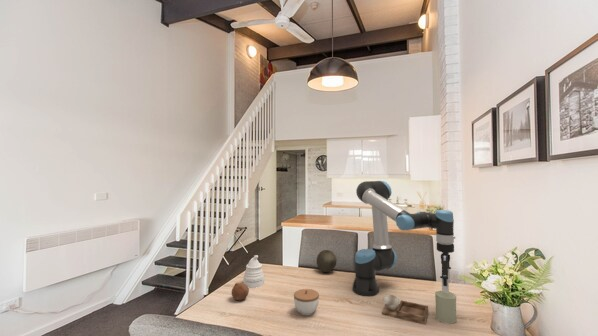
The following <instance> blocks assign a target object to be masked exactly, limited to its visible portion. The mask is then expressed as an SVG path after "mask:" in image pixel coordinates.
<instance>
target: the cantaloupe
mask: <svg viewBox="0 0 598 336" xmlns="http://www.w3.org/2000/svg"><path fill="white" fill-rule="evenodd" d="M337 261H338V260H337V256H336V254H335V253H334V252H333V251H332V250H330V249H329V250H328V249H324V250H321V251H319V253H318V254H317V257H316V266H317V268H318V270H319V271H321V272H323V273H328V272H331V271H332V270H334V268H335V267H336V265H337Z"/></svg>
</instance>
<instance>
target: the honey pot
mask: <svg viewBox="0 0 598 336" xmlns="http://www.w3.org/2000/svg"><path fill="white" fill-rule="evenodd" d="M258 259H259V255H257V254H255V255H253V257H252V258H251V259H250V260H249V261H248V263H247V264H246V266H245V267H246V269H245V270H244V274H243V283H244V284H246V285H247V286H248V287H249V289H256V287H257V288H260V286H261V287H263V286H264V285H265V274H264V271H263V268H262V267H263V264H262V263H260V261H259V260H258ZM263 284H264V285H263ZM262 285H263V286H262Z"/></svg>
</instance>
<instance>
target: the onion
mask: <svg viewBox="0 0 598 336" xmlns="http://www.w3.org/2000/svg"><path fill="white" fill-rule="evenodd" d="M249 293H250V288H248V286H247V285H246V284H244V282H242V283H238V282H236V283H235V284H234V286H233V287H232V289H231V296H232V298H233V299H234V300H236V301H244V300H246V299H247V297H248V295H249Z"/></svg>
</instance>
